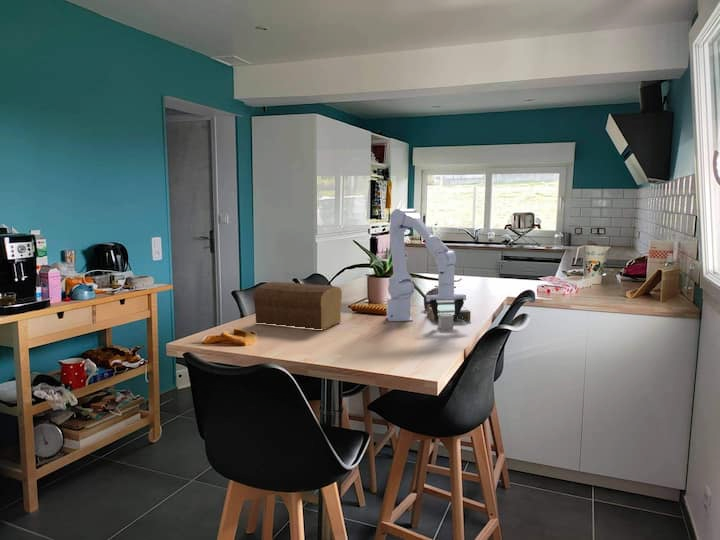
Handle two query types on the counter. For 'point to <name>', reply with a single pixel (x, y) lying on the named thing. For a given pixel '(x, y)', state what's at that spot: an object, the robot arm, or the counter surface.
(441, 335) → the counter surface
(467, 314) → the frame
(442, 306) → the trapdoor
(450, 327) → the grey block
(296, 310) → the bread
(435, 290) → the rock
